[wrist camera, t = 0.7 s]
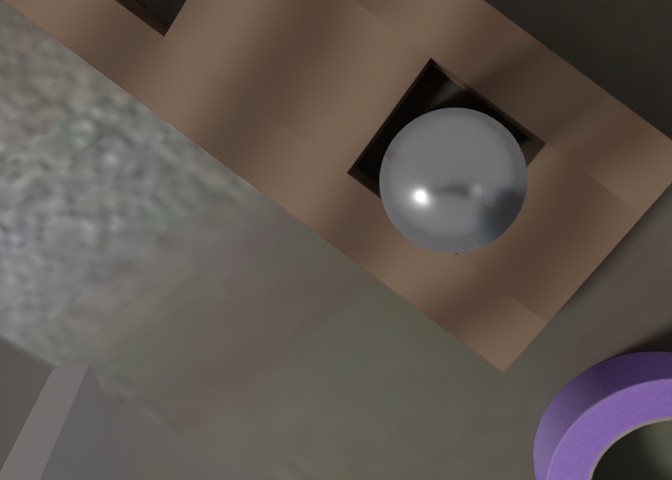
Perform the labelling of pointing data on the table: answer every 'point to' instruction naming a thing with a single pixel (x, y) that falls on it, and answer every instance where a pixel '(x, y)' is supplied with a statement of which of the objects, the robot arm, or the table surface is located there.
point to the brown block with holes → (370, 120)
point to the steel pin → (453, 180)
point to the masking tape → (601, 413)
